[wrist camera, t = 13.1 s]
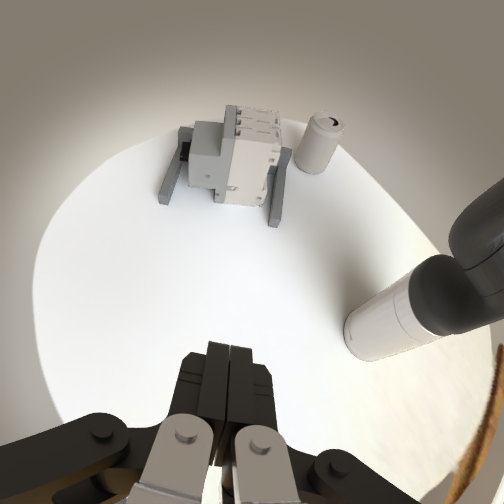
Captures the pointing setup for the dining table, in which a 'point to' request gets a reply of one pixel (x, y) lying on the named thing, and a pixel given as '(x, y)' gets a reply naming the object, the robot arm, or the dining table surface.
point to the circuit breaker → (234, 155)
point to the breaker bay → (278, 171)
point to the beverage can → (319, 142)
